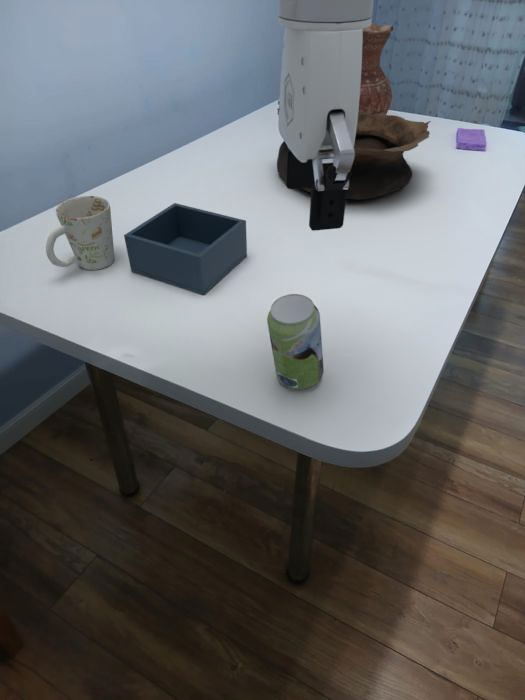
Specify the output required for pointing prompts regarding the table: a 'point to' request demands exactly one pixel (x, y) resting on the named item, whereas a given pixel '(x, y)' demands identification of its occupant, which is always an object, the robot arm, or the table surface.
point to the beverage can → (296, 341)
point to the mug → (84, 232)
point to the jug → (374, 71)
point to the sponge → (471, 139)
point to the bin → (187, 247)
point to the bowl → (375, 154)
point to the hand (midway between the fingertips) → (312, 206)
